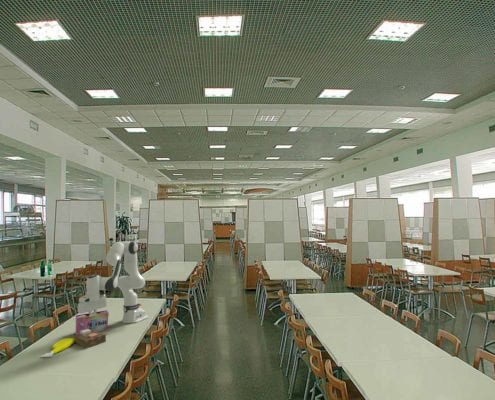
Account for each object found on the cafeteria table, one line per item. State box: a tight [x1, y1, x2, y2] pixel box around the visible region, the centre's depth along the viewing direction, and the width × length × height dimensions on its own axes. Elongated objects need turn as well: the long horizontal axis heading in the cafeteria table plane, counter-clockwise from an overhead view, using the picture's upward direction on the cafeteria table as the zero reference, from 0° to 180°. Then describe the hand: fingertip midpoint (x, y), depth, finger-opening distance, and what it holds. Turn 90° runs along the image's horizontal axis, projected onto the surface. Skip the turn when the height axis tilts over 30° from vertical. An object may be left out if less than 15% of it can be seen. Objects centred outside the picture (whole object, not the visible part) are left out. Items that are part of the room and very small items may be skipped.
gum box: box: [75, 309, 109, 334], centre depth 247 cm, size 24×8×14 cm, turn 125°
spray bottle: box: [39, 337, 75, 358], centre depth 211 cm, size 3×11×24 cm
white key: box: [80, 329, 91, 335], centre depth 227 cm, size 5×5×4 cm
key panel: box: [71, 329, 107, 349], centre depth 224 cm, size 14×20×5 cm
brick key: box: [87, 333, 98, 338], centre depth 221 cm, size 5×5×4 cm
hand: (92, 316), depth 223 cm, fingers closed
